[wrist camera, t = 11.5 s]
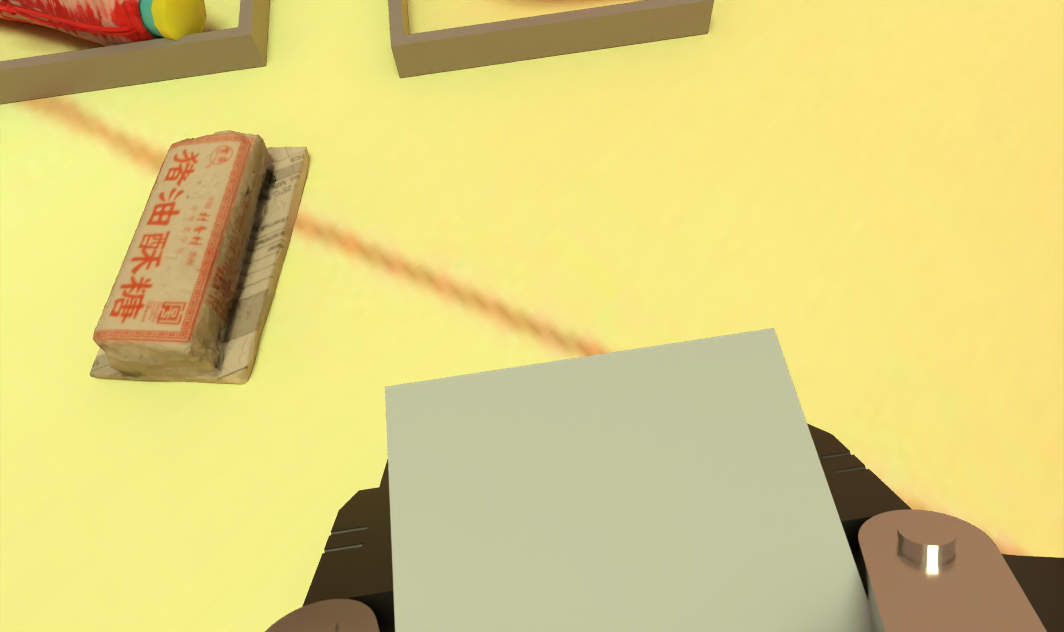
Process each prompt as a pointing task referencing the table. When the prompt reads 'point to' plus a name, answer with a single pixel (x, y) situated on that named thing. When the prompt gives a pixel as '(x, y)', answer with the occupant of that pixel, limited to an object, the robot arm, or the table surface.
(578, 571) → the slate post
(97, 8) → the water bottle
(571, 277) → the table surface
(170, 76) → the bottle corral
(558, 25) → the heart corral
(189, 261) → the packaged product
